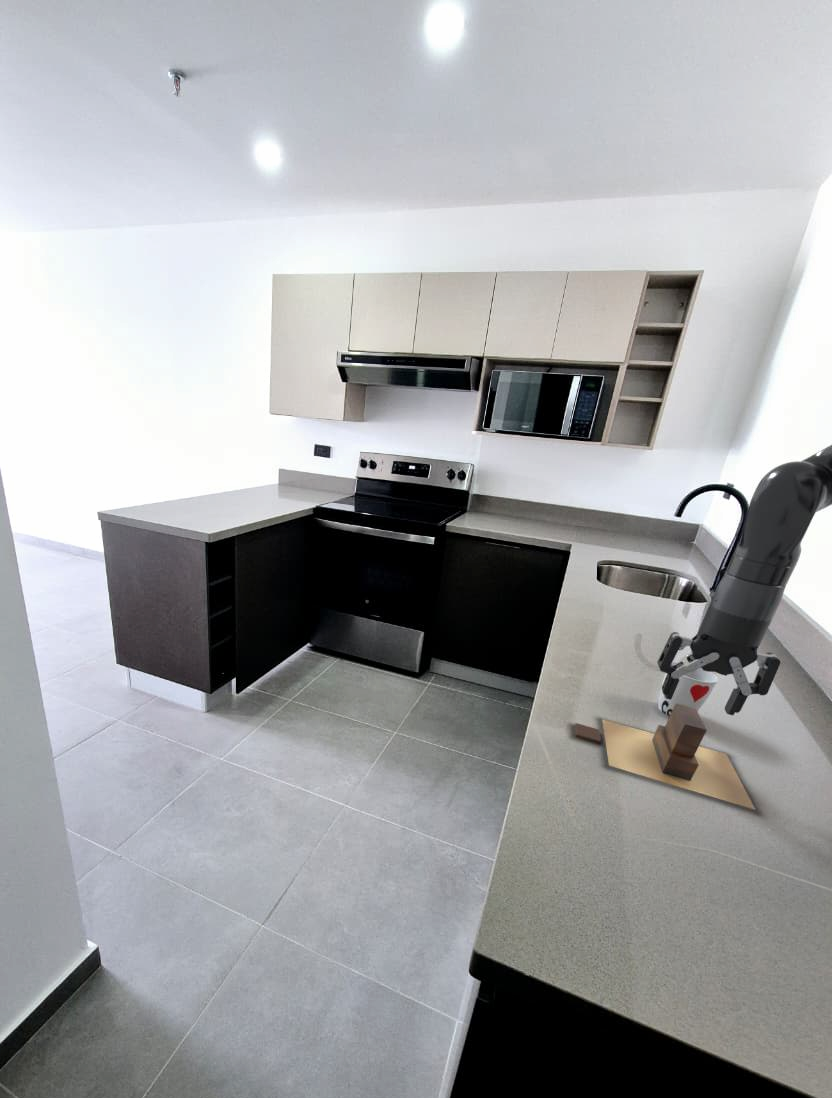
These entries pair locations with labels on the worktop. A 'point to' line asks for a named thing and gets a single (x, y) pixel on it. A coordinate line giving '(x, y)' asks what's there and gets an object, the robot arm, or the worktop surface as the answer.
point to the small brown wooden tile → (587, 733)
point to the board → (640, 757)
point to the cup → (689, 690)
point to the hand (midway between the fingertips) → (697, 704)
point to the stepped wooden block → (679, 742)
